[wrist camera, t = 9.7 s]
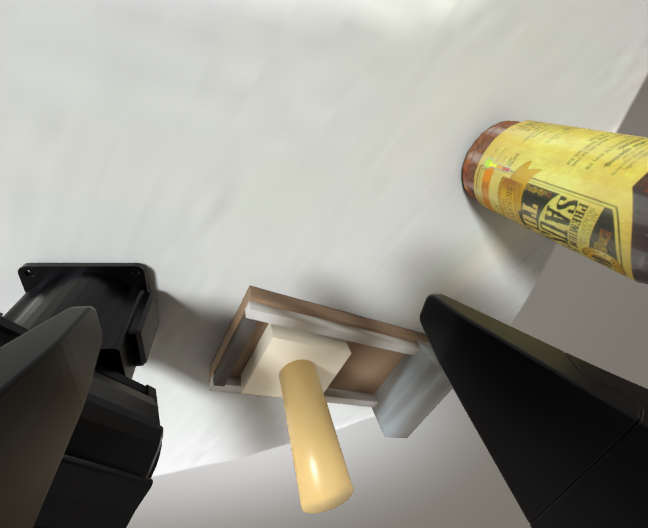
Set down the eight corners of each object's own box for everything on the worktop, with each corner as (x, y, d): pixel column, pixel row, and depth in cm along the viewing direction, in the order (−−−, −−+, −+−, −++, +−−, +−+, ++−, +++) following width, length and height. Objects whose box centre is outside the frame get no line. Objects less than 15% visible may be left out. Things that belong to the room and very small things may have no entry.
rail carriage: (240, 374, 25) (247, 533, 16) (270, 321, 23) (295, 468, 14) (312, 384, 28) (351, 521, 19) (344, 337, 26) (403, 467, 17)
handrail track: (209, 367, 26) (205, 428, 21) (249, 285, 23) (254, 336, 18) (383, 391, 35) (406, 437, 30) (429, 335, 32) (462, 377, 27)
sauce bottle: (441, 170, 22) (1051, 416, 6) (507, 97, 21) (1587, 147, 4) (481, 217, 25) (938, 458, 9) (540, 158, 24) (1216, 317, 8)
